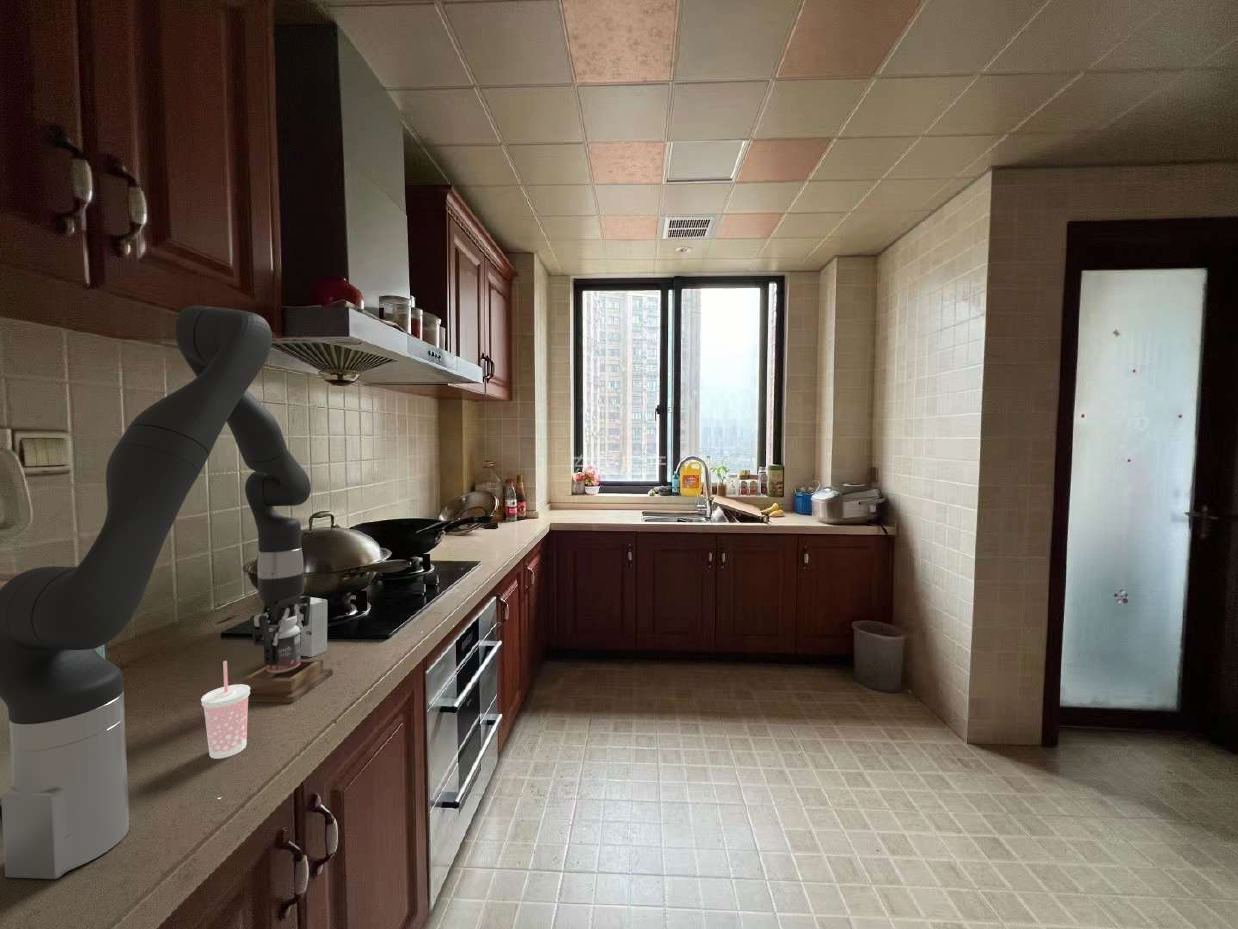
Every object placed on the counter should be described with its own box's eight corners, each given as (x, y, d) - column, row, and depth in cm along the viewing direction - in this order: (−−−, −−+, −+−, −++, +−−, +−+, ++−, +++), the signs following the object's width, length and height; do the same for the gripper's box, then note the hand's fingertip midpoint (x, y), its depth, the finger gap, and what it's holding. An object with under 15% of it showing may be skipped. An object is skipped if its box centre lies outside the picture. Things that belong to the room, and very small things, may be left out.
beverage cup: (214, 742, 84) (211, 656, 83) (258, 736, 85) (255, 651, 85) (195, 764, 78) (191, 672, 77) (242, 757, 80) (239, 666, 79)
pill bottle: (261, 675, 99) (259, 623, 99) (272, 663, 105) (271, 614, 104) (295, 672, 101) (294, 620, 100) (304, 660, 106) (303, 612, 106)
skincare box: (292, 654, 119) (290, 601, 119) (310, 647, 123) (308, 596, 123) (311, 658, 117) (310, 604, 117) (329, 650, 121) (327, 598, 121)
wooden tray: (293, 702, 97) (292, 683, 96) (231, 701, 97) (230, 682, 97) (332, 674, 109) (332, 657, 108) (277, 673, 109) (276, 656, 109)
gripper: (273, 582, 95) (275, 674, 95) (322, 564, 109) (324, 644, 110) (233, 581, 95) (236, 673, 96) (288, 564, 109) (290, 643, 110)
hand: (283, 657), depth 103 cm, fingers closed on pill bottle, 5 cm apart
